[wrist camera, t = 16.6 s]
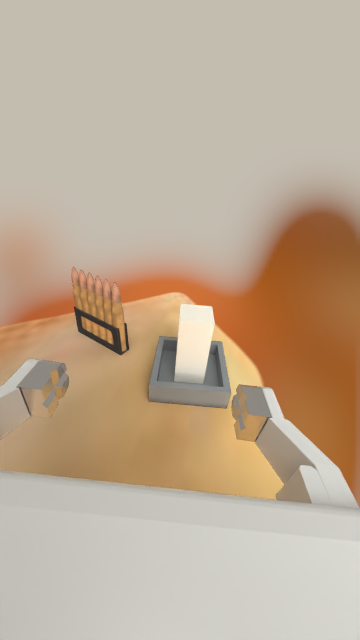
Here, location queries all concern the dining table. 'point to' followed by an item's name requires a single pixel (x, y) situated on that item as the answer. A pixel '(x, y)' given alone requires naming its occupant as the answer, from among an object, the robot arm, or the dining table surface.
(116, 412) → the dining table surface
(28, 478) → the robot arm
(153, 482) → the dining table surface
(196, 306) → the cream block
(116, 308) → the ammunition clip
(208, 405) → the box
